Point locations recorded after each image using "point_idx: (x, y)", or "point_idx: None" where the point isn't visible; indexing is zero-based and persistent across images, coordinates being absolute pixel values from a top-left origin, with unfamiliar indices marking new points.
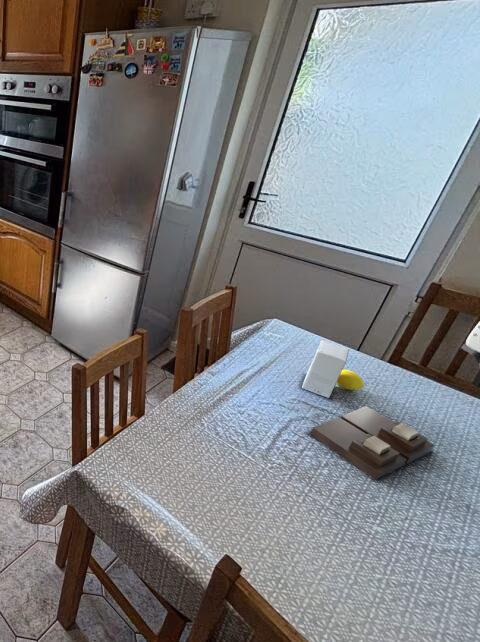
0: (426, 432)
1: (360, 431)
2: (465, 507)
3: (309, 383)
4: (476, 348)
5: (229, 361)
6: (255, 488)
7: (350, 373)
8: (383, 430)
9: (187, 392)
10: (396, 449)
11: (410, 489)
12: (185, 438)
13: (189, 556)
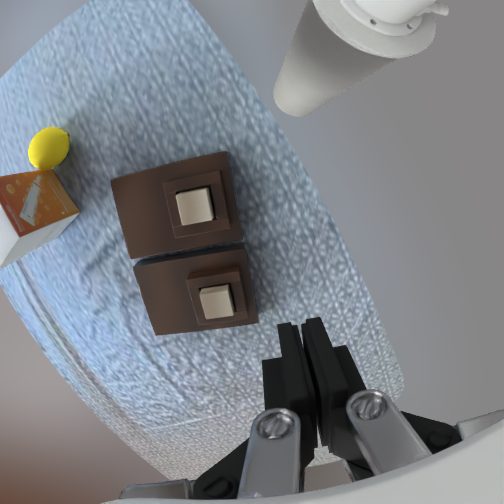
0: (185, 103)
1: (170, 264)
2: (331, 231)
3: (51, 238)
4: None
5: (11, 299)
6: (238, 437)
7: (38, 153)
8: (180, 236)
9: (86, 402)
10: (220, 242)
11: (285, 280)
12: (165, 447)
13: None
